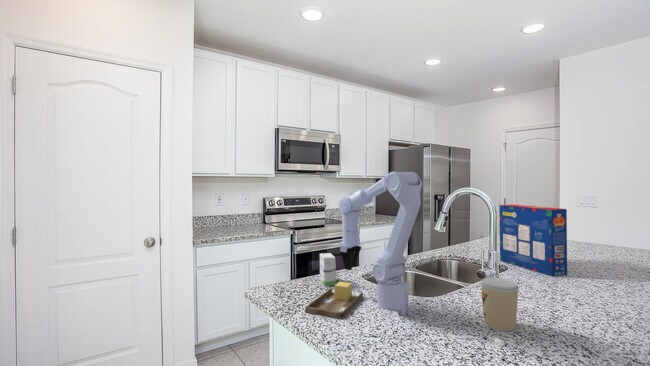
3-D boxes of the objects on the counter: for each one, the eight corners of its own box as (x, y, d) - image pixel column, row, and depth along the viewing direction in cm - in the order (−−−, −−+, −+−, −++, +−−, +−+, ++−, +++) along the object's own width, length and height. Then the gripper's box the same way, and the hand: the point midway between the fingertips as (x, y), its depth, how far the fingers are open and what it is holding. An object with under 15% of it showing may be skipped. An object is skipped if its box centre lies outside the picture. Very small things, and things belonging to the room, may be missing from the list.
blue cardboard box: (567, 275, 136) (566, 209, 135) (552, 276, 134) (551, 209, 134) (513, 259, 163) (512, 204, 163) (499, 260, 161) (499, 205, 161)
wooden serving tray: (363, 300, 110) (362, 292, 110) (342, 323, 93) (342, 313, 93) (330, 295, 115) (330, 288, 115) (305, 316, 98) (305, 307, 98)
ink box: (336, 287, 123) (336, 257, 123) (324, 288, 122) (323, 258, 122) (331, 281, 132) (331, 252, 132) (319, 282, 131) (319, 253, 131)
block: (351, 296, 111) (351, 283, 111) (347, 300, 107) (347, 287, 107) (339, 294, 113) (339, 281, 113) (334, 298, 109) (334, 285, 109)
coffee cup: (485, 315, 97) (485, 275, 97) (521, 323, 91) (521, 281, 91) (477, 326, 90) (476, 283, 90) (515, 336, 84) (515, 290, 84)
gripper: (347, 227, 125) (347, 262, 125) (332, 232, 111) (332, 271, 112) (364, 228, 122) (365, 263, 122) (351, 234, 108) (351, 274, 109)
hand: (350, 267), depth 116 cm, fingers open, 4 cm apart
